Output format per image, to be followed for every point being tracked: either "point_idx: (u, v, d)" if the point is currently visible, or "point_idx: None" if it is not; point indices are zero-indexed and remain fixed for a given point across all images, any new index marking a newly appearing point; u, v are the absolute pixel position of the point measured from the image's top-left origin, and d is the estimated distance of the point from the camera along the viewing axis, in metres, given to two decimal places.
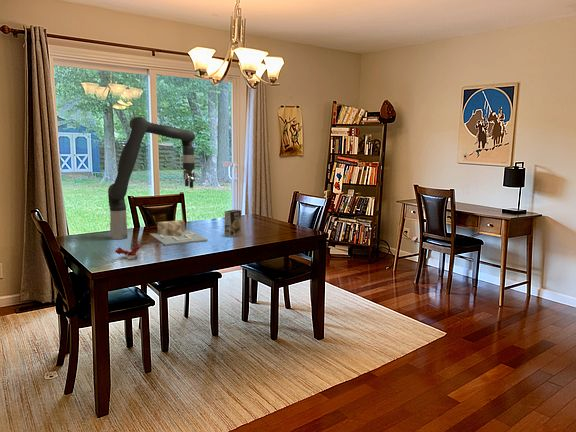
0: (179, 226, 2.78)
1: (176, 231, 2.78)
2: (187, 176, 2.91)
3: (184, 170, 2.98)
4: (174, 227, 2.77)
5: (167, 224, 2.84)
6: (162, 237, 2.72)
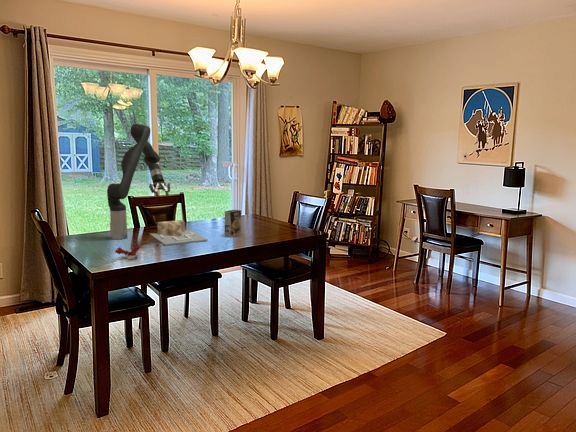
0: (179, 226, 2.78)
1: (176, 231, 2.78)
2: (163, 186, 3.02)
3: (150, 184, 3.00)
4: (174, 227, 2.77)
5: (167, 224, 2.84)
6: (162, 237, 2.72)
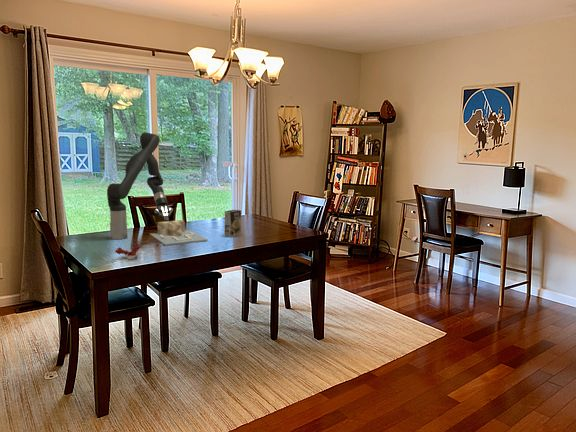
0: (179, 226, 2.78)
1: (176, 231, 2.78)
2: (165, 209, 2.99)
3: (155, 209, 2.96)
4: (174, 227, 2.77)
5: (167, 224, 2.84)
6: (162, 237, 2.72)
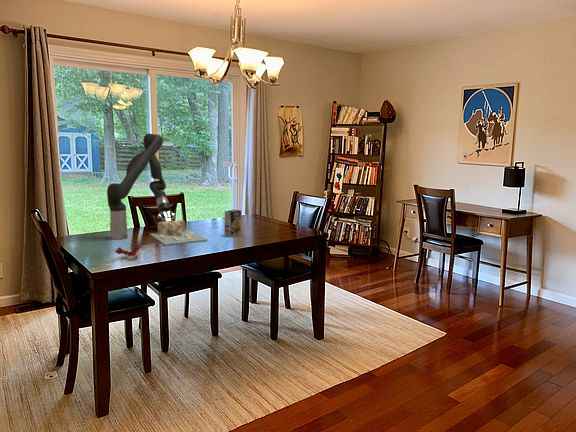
0: (179, 226, 2.78)
1: (177, 231, 2.78)
2: (168, 214, 2.94)
3: None
4: (174, 227, 2.77)
5: (167, 224, 2.84)
6: (162, 237, 2.72)
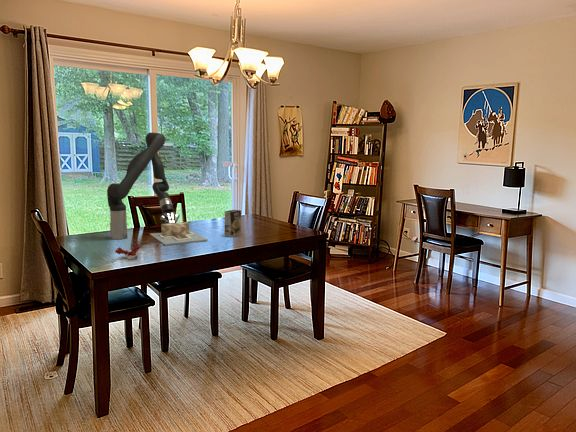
0: (184, 228, 2.73)
1: (181, 233, 2.72)
2: (171, 216, 2.88)
3: (161, 216, 2.86)
4: (179, 229, 2.71)
5: (171, 226, 2.79)
6: (162, 237, 2.72)
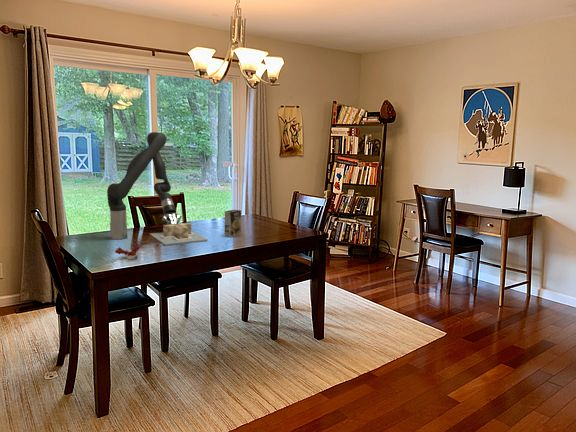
0: (186, 229, 2.70)
1: (183, 234, 2.69)
2: (173, 217, 2.85)
3: (163, 217, 2.83)
4: (181, 230, 2.68)
5: (173, 227, 2.76)
6: (162, 237, 2.72)
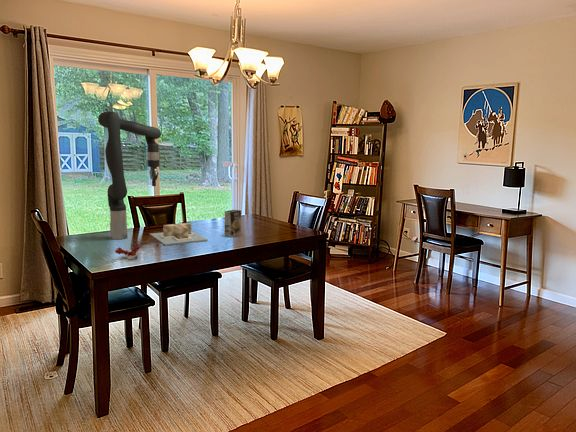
0: (186, 229, 2.70)
1: (183, 234, 2.69)
2: (151, 173, 2.91)
3: (149, 171, 2.96)
4: (181, 230, 2.68)
5: (173, 227, 2.76)
6: (162, 237, 2.72)
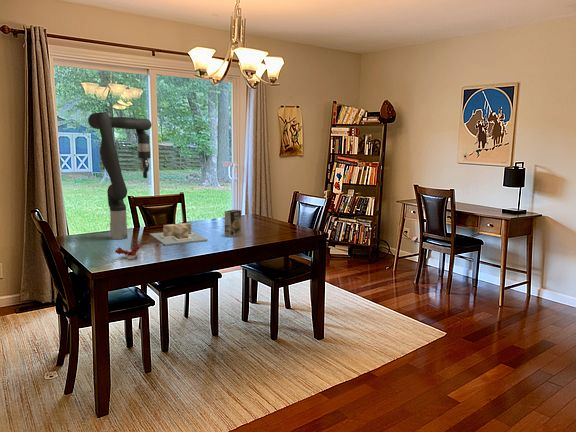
0: (186, 229, 2.70)
1: (183, 234, 2.69)
2: (142, 165, 2.88)
3: (141, 162, 2.93)
4: (181, 230, 2.68)
5: (173, 227, 2.76)
6: (162, 237, 2.72)
